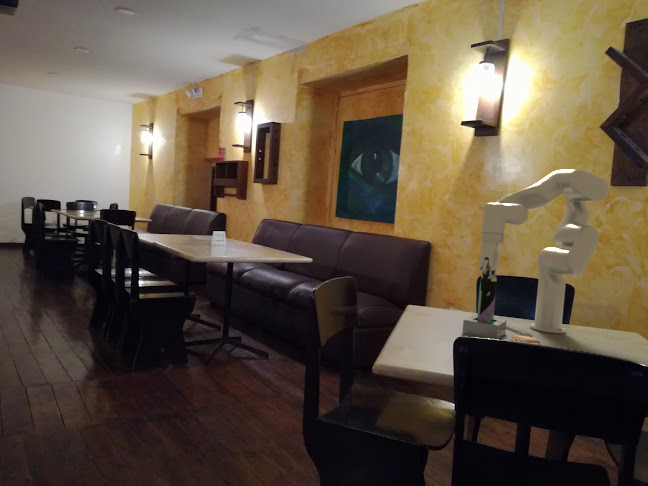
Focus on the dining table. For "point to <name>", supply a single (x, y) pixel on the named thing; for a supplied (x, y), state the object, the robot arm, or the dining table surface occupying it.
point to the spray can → (487, 302)
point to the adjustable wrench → (518, 330)
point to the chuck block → (484, 327)
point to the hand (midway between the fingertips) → (487, 288)
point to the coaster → (525, 339)
